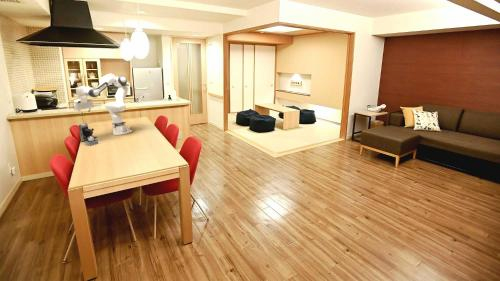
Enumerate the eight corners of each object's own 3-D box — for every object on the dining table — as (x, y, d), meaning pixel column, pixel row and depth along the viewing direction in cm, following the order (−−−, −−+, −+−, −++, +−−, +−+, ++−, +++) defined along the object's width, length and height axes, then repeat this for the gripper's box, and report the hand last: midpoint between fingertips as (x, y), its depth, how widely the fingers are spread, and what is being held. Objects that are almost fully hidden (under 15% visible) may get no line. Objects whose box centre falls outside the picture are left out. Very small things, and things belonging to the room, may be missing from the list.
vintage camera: (92, 143, 295) (90, 125, 289) (80, 141, 298) (78, 124, 292) (99, 140, 304) (96, 123, 298) (87, 139, 307) (84, 122, 301)
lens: (92, 142, 293) (91, 135, 290) (95, 142, 290) (93, 135, 288) (88, 143, 288) (86, 136, 286) (91, 144, 286) (89, 136, 284)
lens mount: (93, 142, 295) (92, 138, 294) (98, 143, 291) (97, 140, 290) (85, 144, 288) (84, 141, 287) (90, 145, 284) (89, 142, 282)
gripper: (90, 98, 304) (92, 110, 309) (71, 101, 287) (74, 114, 292) (93, 99, 301) (95, 111, 306) (75, 102, 284) (77, 114, 289)
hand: (85, 112), depth 299 cm, fingers open, 8 cm apart
